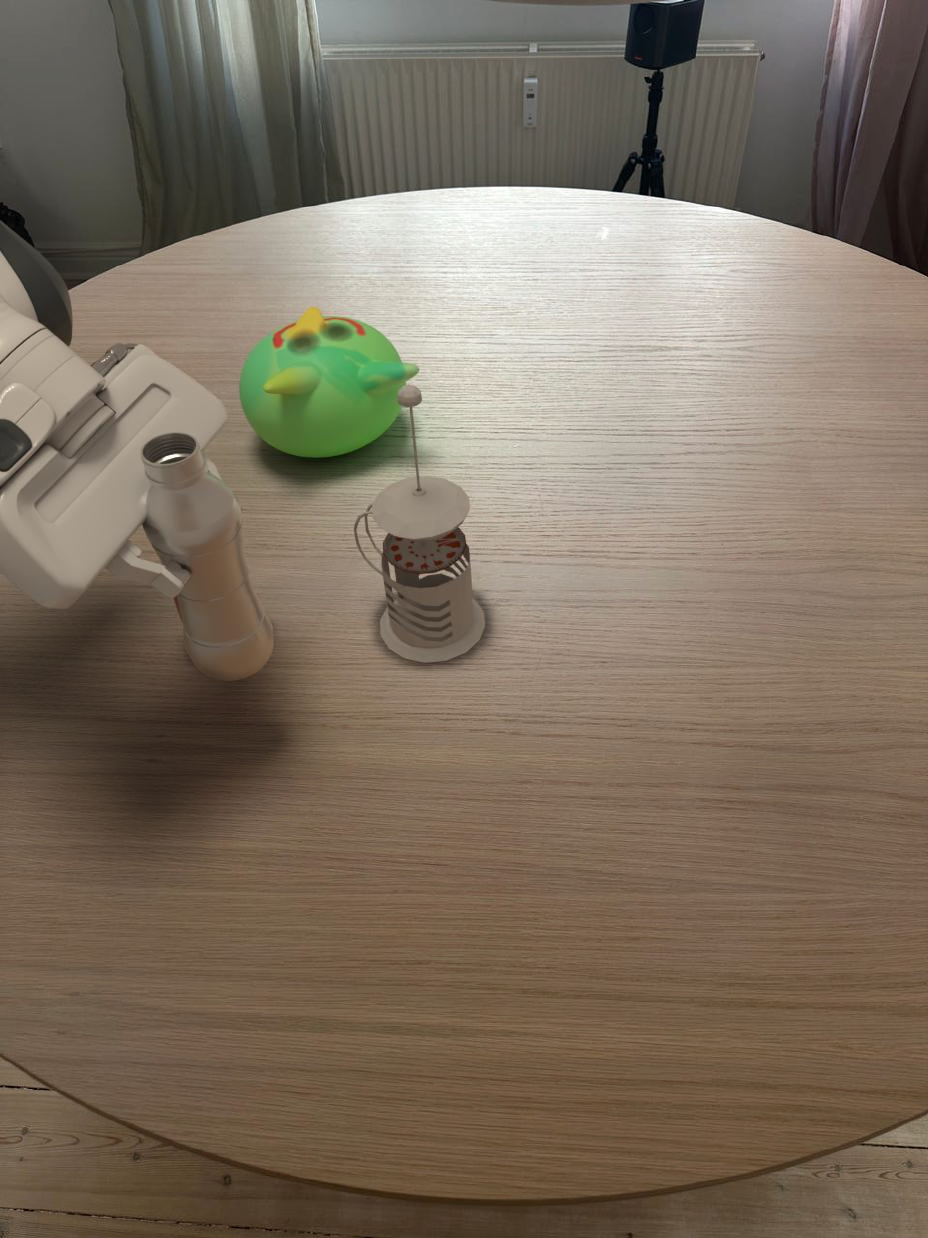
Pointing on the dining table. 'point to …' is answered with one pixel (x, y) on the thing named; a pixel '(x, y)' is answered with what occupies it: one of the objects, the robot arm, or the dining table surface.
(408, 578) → the french press
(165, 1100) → the dining table surface
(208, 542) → the plastic bottle
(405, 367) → the toy bird
